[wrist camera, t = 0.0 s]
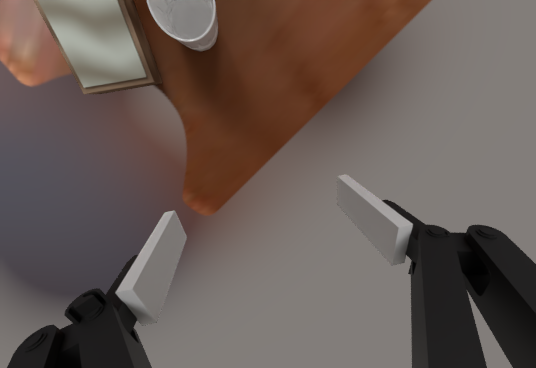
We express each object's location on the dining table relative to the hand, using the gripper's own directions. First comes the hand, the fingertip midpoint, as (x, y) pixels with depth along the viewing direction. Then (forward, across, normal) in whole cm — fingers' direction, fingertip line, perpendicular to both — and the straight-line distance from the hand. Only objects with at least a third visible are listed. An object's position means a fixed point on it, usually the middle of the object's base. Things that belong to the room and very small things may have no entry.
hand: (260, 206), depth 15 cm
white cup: (+28, -4, +19) cm, 34 cm away
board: (+28, -18, +21) cm, 40 cm away
